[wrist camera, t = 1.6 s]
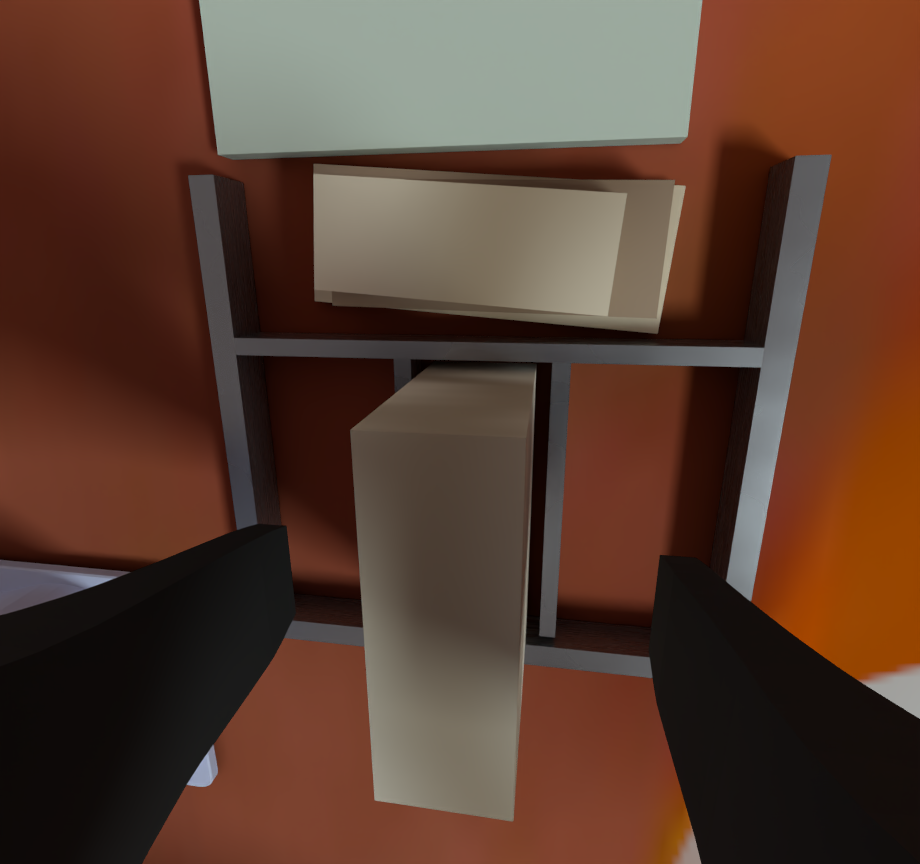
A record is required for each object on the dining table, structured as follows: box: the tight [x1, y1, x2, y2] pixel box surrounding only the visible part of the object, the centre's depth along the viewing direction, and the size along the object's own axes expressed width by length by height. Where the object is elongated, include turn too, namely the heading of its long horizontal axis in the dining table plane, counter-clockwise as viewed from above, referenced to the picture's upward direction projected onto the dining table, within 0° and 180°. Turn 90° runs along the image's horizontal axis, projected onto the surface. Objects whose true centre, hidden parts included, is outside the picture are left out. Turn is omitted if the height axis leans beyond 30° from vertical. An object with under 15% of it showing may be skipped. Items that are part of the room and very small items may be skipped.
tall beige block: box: [350, 361, 537, 821], centre depth 11 cm, size 2×7×6 cm, turn 0°
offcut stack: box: [313, 164, 686, 334], centre depth 12 cm, size 8×3×2 cm, turn 85°
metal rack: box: [188, 155, 831, 678], centre depth 13 cm, size 13×12×1 cm
